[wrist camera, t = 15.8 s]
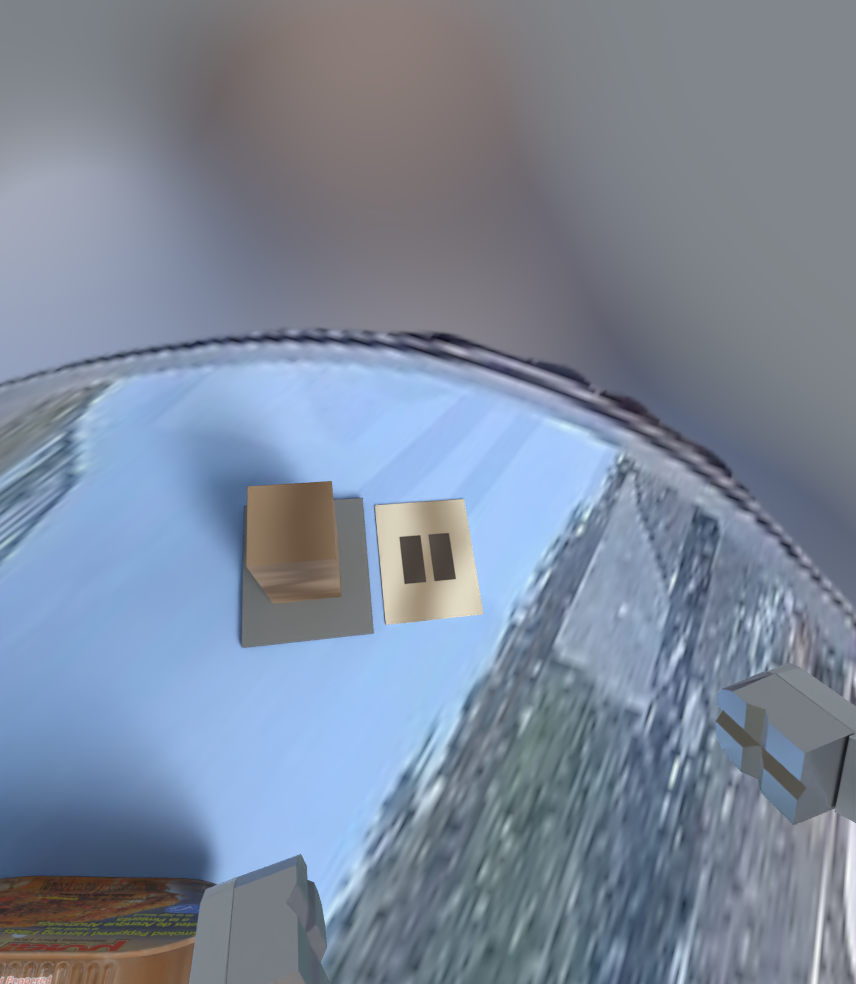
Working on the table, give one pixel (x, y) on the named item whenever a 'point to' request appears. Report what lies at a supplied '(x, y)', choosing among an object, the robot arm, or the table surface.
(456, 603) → the placard
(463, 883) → the table surface
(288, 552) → the walnut block
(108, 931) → the tin
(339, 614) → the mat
